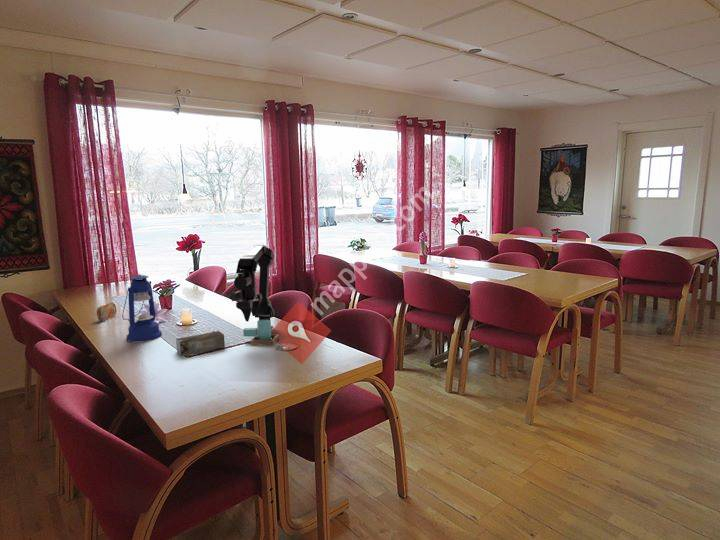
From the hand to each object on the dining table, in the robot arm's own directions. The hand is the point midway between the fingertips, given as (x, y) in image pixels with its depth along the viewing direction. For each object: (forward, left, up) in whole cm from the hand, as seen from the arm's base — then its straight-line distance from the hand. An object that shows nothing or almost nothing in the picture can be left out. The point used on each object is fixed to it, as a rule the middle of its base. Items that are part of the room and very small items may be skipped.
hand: (250, 318), depth 208 cm
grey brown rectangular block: (+12, -19, -11) cm, 25 cm away
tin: (-33, -92, -11) cm, 98 cm away
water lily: (-28, -62, -11) cm, 68 cm away
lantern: (-4, -54, -11) cm, 55 cm away
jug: (0, +3, -11) cm, 11 cm away
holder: (0, +6, -11) cm, 13 cm away
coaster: (+7, +18, -11) cm, 22 cm away
